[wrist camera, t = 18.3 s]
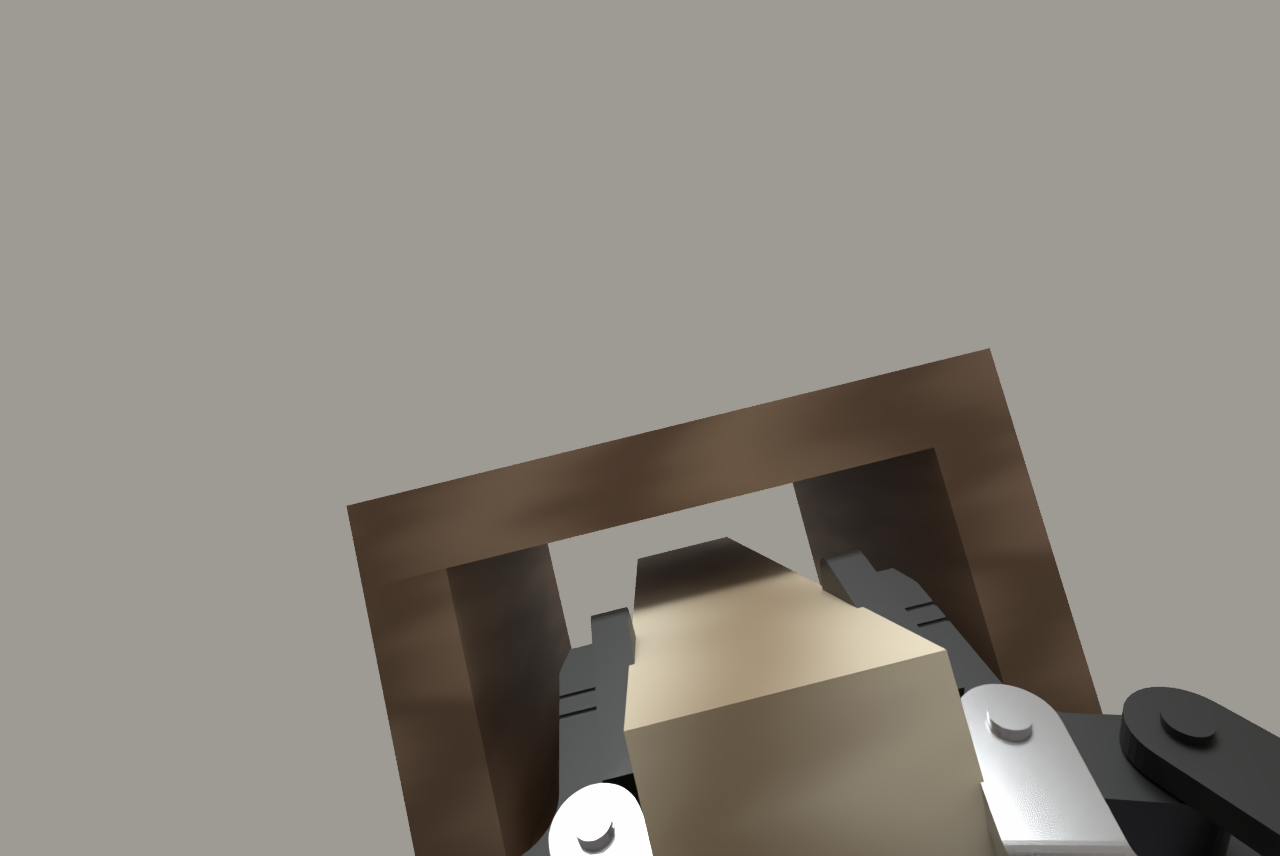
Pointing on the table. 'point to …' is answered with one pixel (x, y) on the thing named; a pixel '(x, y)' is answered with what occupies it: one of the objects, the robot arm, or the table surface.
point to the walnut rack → (671, 481)
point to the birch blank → (790, 719)
